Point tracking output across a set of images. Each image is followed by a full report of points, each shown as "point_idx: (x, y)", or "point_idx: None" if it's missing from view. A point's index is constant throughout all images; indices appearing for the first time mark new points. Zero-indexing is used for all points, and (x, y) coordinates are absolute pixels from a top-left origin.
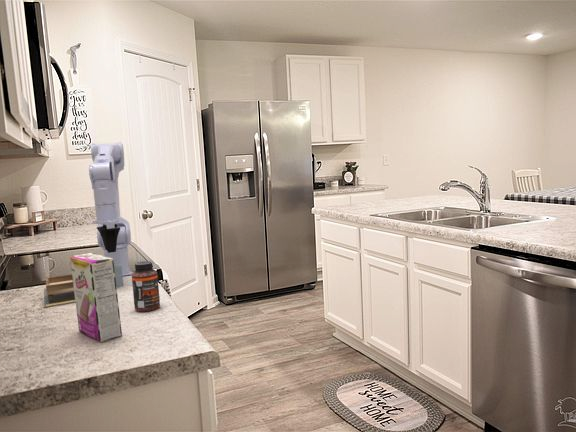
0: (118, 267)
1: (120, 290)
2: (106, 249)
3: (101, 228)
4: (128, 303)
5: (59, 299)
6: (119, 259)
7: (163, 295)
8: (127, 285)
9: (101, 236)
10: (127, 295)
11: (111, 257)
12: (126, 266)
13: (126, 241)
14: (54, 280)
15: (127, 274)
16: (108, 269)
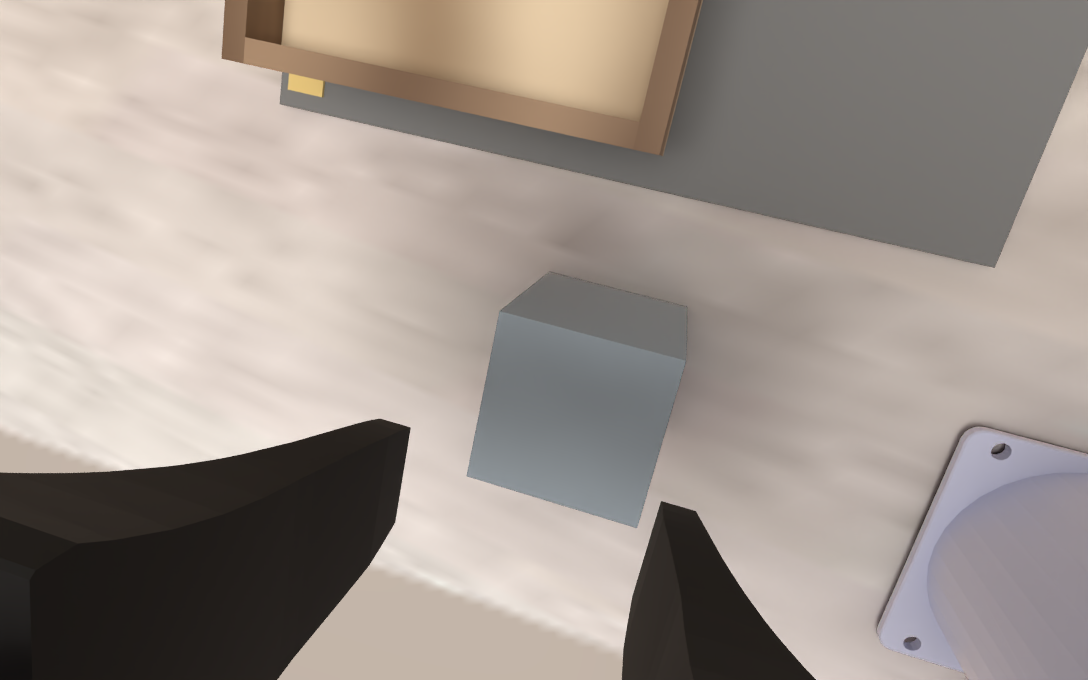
0: (475, 442)
1: (404, 323)
2: (661, 513)
3: (4, 646)
4: (29, 219)
5: None
6: (1000, 673)
7: (66, 445)
8: None
9: (756, 651)
10: (222, 297)
11: (1083, 629)
12: (963, 668)
13: None
14: None
15: (892, 599)
16: None
